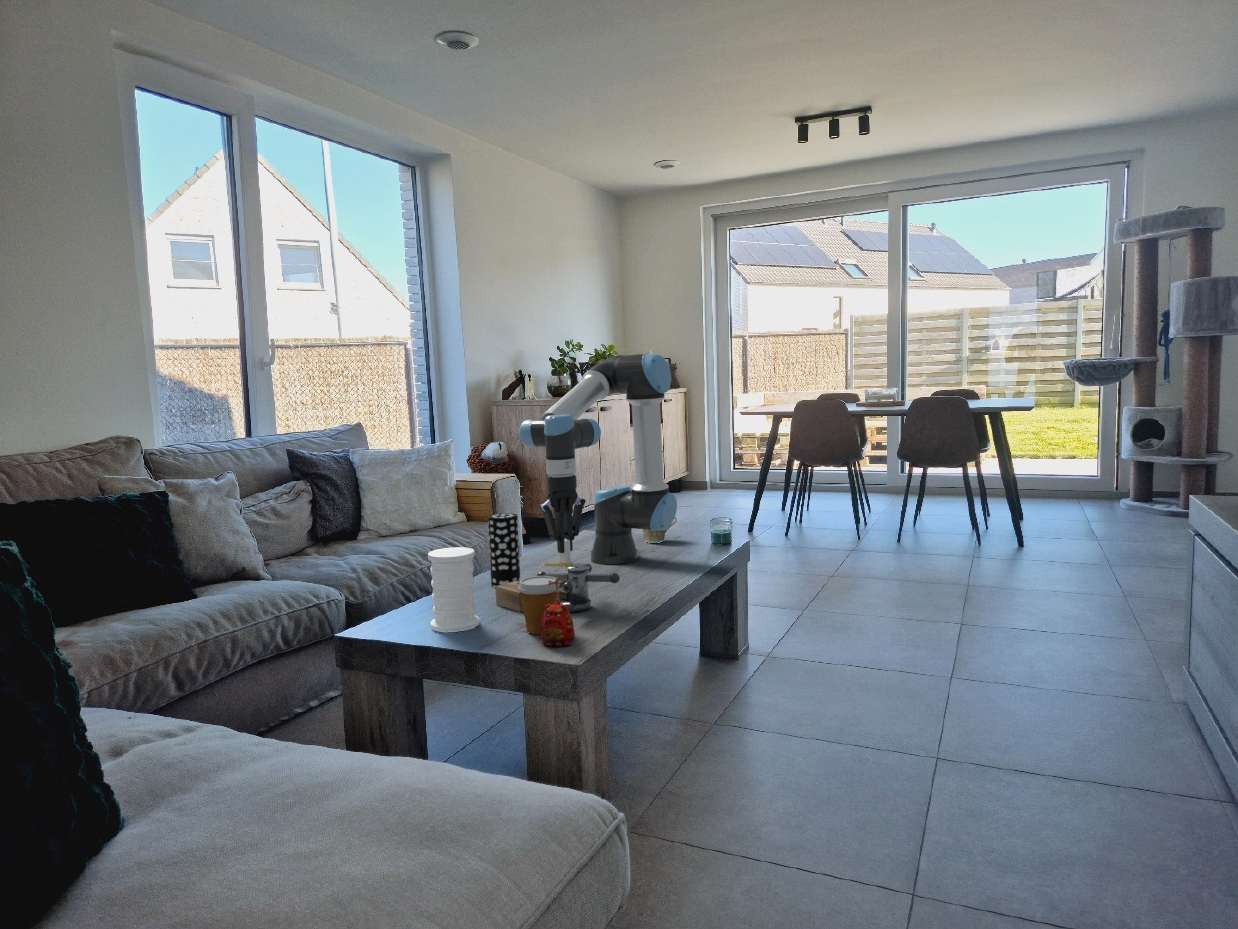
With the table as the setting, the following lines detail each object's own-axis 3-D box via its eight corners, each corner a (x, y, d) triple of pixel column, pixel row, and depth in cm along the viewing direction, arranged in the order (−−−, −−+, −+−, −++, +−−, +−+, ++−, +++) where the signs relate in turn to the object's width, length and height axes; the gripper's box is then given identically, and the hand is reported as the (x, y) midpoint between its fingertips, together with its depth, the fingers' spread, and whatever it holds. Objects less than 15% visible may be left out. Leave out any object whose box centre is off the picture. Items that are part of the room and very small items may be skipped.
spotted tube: (526, 584, 231) (523, 515, 229) (503, 590, 225) (500, 519, 223) (508, 579, 236) (504, 512, 234) (485, 585, 230) (481, 516, 228)
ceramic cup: (638, 544, 280) (637, 516, 279) (642, 539, 289) (641, 511, 288) (675, 545, 277) (675, 516, 276) (678, 539, 287) (677, 511, 286)
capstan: (628, 596, 213) (627, 554, 212) (611, 621, 192) (610, 574, 191) (550, 594, 218) (548, 553, 216) (525, 618, 197) (523, 573, 195)
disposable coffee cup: (544, 639, 181) (542, 587, 180) (511, 633, 186) (509, 583, 185) (569, 628, 189) (567, 578, 188) (537, 622, 194) (534, 573, 193)
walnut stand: (550, 590, 223) (549, 570, 222) (588, 601, 211) (588, 580, 211) (496, 604, 210) (495, 583, 210) (534, 616, 199) (533, 594, 198)
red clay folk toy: (537, 648, 175) (534, 580, 174) (545, 638, 182) (543, 573, 181) (571, 649, 174) (569, 581, 172) (578, 638, 181) (576, 573, 179)
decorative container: (469, 634, 187) (465, 557, 185) (422, 632, 189) (418, 557, 187) (486, 619, 198) (482, 547, 196) (441, 618, 200) (437, 546, 198)
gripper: (547, 479, 201) (552, 571, 204) (590, 473, 208) (594, 562, 211) (532, 476, 207) (536, 566, 210) (574, 470, 214) (578, 557, 217)
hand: (565, 564), depth 210 cm, fingers closed
